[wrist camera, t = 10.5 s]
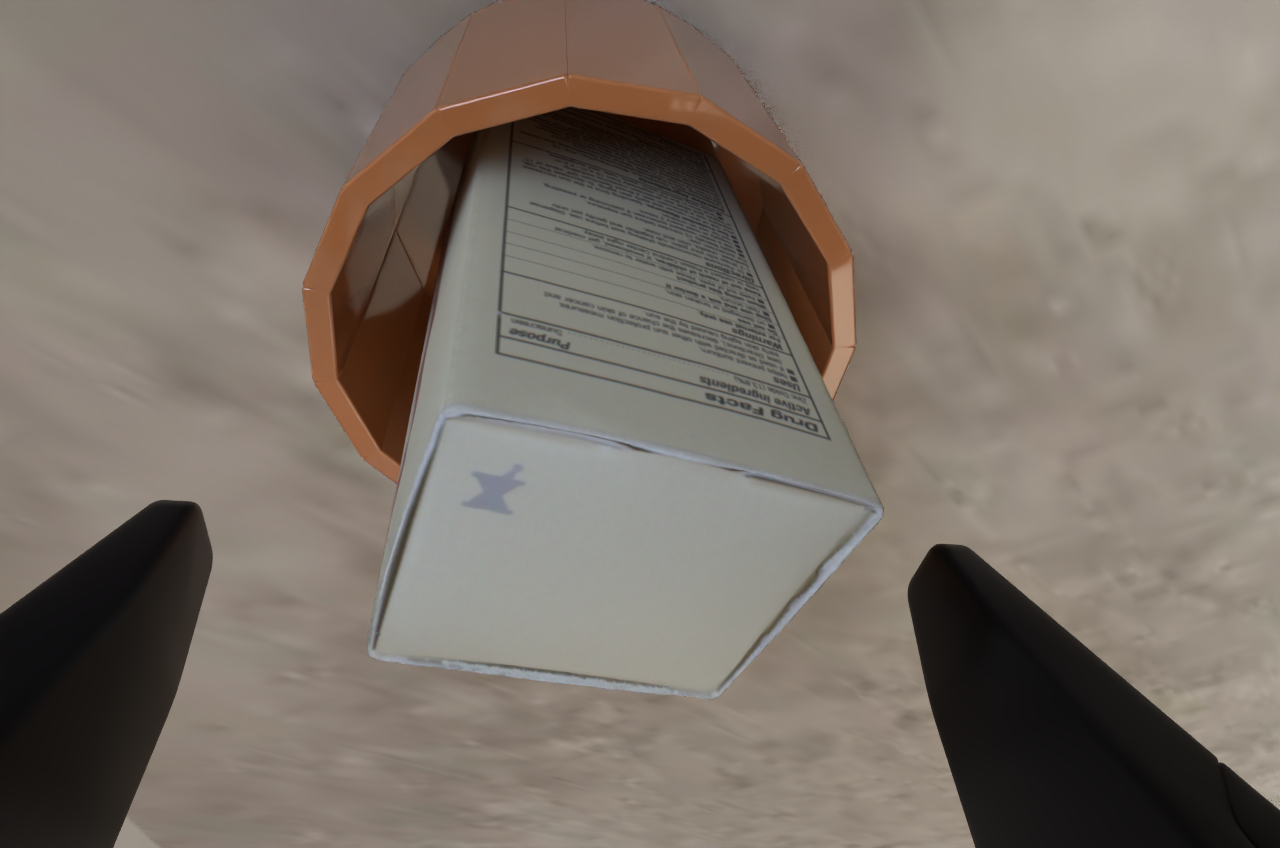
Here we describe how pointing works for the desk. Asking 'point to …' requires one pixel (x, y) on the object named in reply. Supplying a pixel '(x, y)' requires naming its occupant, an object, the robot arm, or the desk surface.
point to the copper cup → (518, 89)
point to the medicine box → (610, 427)
